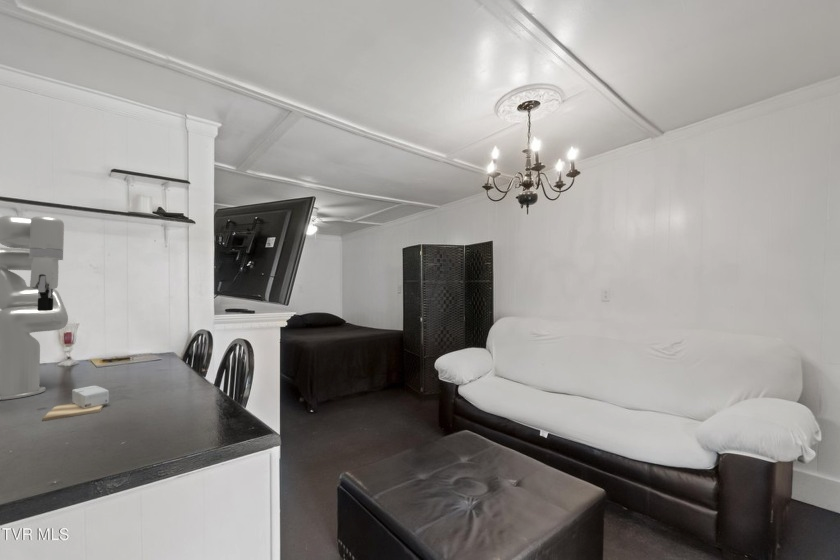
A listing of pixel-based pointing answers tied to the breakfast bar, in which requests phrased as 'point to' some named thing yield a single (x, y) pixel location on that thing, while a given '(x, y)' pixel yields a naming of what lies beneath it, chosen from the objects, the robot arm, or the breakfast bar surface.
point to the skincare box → (90, 396)
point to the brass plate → (69, 411)
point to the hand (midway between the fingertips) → (45, 310)
